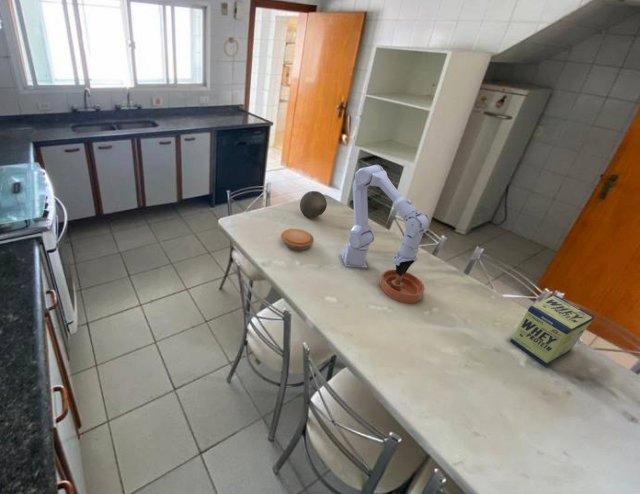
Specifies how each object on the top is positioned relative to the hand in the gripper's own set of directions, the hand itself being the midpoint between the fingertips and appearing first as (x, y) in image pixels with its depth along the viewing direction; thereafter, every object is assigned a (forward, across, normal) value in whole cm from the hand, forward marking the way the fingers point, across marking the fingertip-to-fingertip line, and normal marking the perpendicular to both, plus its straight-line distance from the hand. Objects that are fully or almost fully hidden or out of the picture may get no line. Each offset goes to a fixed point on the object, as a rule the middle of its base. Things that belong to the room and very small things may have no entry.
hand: (400, 273), depth 128 cm
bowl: (+7, 0, -2) cm, 8 cm away
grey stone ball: (+8, +16, +59) cm, 62 cm away
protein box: (+8, +14, -43) cm, 46 cm away
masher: (+6, 0, 0) cm, 6 cm away
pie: (+8, -10, +45) cm, 47 cm away
